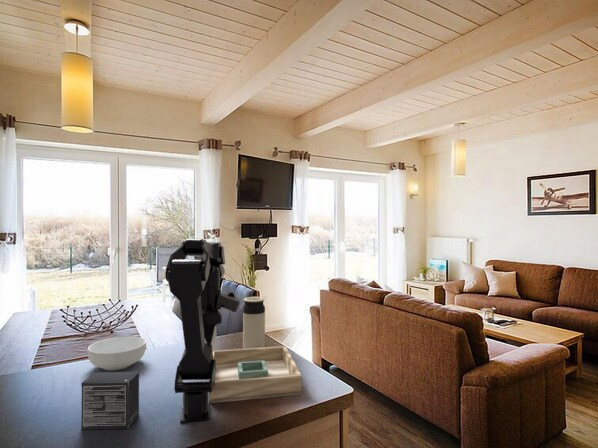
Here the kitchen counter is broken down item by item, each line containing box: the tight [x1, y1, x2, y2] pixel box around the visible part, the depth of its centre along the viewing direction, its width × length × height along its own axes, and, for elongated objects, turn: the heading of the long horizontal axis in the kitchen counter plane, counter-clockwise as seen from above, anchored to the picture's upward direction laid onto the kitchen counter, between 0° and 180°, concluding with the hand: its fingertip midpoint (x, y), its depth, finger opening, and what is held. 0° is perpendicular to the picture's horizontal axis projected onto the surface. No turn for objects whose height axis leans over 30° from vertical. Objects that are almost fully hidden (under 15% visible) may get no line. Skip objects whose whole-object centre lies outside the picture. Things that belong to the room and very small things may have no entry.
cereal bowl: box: [87, 336, 147, 372], centre depth 116 cm, size 17×17×7 cm
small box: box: [80, 371, 140, 431], centre depth 83 cm, size 11×6×10 cm, turn 92°
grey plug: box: [205, 325, 217, 351], centre depth 103 cm, size 4×4×8 cm
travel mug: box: [242, 296, 266, 349], centre depth 133 cm, size 8×8×18 cm
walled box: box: [208, 345, 303, 404], centre depth 106 cm, size 24×24×5 cm
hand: (209, 341), depth 103 cm, fingers closed on grey plug, 4 cm apart
